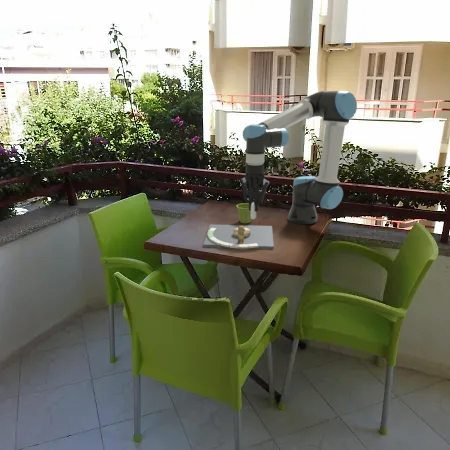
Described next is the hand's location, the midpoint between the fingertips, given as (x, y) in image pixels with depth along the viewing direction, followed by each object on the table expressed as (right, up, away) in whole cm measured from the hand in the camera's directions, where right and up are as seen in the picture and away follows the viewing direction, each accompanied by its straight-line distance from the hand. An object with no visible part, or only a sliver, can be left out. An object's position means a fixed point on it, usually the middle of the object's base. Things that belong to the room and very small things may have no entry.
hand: (253, 218), depth 166 cm
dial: (-5, -9, +11) cm, 15 cm away
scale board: (-5, -9, +14) cm, 18 cm away
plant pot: (-1, -1, +36) cm, 36 cm away
